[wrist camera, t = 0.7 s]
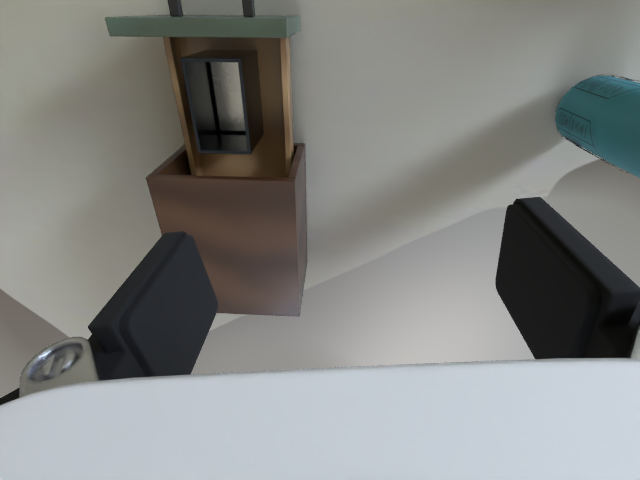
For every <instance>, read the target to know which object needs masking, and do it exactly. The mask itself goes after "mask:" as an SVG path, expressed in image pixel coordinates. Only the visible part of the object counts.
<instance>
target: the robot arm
mask: <svg viewBox="0 0 640 480" xmlns="http://www.w3.org/2000/svg"><path fill="white" fill-rule="evenodd" d="M496 289H497V291H498V294H499V295H500V297H501V299H502V301H503V303H504V304H505V306H506V308H507V310H508V311H509V313H510V315H511V317H512V318H513V320H514V322H515V324H516V326H517V327H518V329H519V331H520V333H521V334H522V336H523V338H524V340H525V341H526V343H527V345H528V347H529V348H530V350H531V352H532V354H533V356H534V357H535V359H533V360H502V361H501V360H500V361H476V362H452V363H451V362H450V363H429V364H428V363H426V364H401V365H379V366H357V367H335V368H314V369H313V368H312V369H292V370H270V371H251V372H231V373H213V374H193V375H190V374H191V372H192V369H193V367H194V365H195V362H196V360H197V357H198V355H199V353H200V351H201V348H202V346H203V344H204V341H205V339H206V336H207V334H208V332H209V329H210V327H211V325H212V322H213V320H214V318H215V315H216V313H217V310H218V301H217V298H216V295H215V292H214V290H213V287H212V285H211V282H210V279H209V277H208V274H207V272H206V269H205V266H204V264H203V261H202V259H201V256H200V253H199V251H198V248H197V246H196V243H195V240H194V238H193V237H192V236H191V235H188V234H187V233H186V232H184V231H180V232H169V233H165V234H163V236H162V237H161V238H160V239H159V240H158V242H157V243H156V244H155V245H154V246H153V248H152V249H151V250H150V251H149V253H148V254H147V255H146V256H145V257H144V259H143V260H142V261H141V262H140V264H139V265H138V266H137V267H136V268H135V270H134V271H133V272H132V273H131V275H130V276H129V277H128V278H127V279H126V281H125V282H124V283H123V284H122V286H121V287H120V288H119V289H118V290H117V292H116V293H115V294H114V295H113V297H112V298H111V299H110V300H109V301H108V303H107V304H106V305H105V306H104V308H103V309H102V310H101V311H100V312H99V314H98V315H97V316H96V317H95V319H94V320H93V321H92V322H91V323H90V325H89V326H88V328H89V330H90V331H91V333H92V335H91V337H90V338H89V339H88V340H87V339H85V338H83V337H71V338H66V339H63V340H61V341H58V342H56V343H53V344H52V345H50V346H48V347H46V348H45V349H43V350H42V351H40V352H39V353H38V354H36V355H35V356H34V357H33V358H32V359H31V360H30V361H29V362H28V363H27V365H26V366H25V367H24V369H23V371H22V372H21V376H20V388H18V389H16V390H15V391H13V392H11V393H9V394H7V395H5V396H4V397H2V398H0V480H640V288H639V287H638V286H637V285H636V284H635V283H634V282H633V281H632V280H631V279H630V278H629V277H627V276H626V275H625V274H624V273H623V272H622V271H621V270H620V269H619V268H618V267H617V266H615V265H614V264H613V263H612V262H611V261H610V260H609V259H607V257H605V256H604V255H603V254H602V253H601V252H600V251H599V250H598V249H597V248H596V247H595V246H593V245H592V244H591V243H590V242H589V241H588V240H587V239H586V238H585V237H584V236H582V235H581V234H580V233H579V232H578V231H577V230H576V229H575V228H574V227H572V225H570V224H569V223H568V222H567V221H566V220H565V219H564V218H563V217H562V216H561V215H560V214H558V213H557V212H556V211H555V210H554V209H553V208H552V207H550V205H549V204H547V203H546V202H545V201H544V200H543V199H542V198H540V197H533V198H523V199H516V200H515V201H514V203H513V205H509V206H508V207H507V211H506V217H505V223H504V230H503V237H502V242H501V248H500V255H499V261H498V268H497V274H496Z"/></svg>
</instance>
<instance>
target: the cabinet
mask: <svg viewBox="0 0 640 480" xmlns="http://www.w3.org/2000/svg"><path fill="white" fill-rule="evenodd" d="M293 144H294V159H293V162H292V165H291V168H290V171H289V174H288V177H287V178H274V177H236V176H198V175H191V170H190V165H189V160H188V156H187V151H186V146H185V144H184V145H183V146H182V147H181V148H180V149H179V150H177V151H176V152H175V153H174V154H173V155H172V156H170V157H169V158H168V159H167V160H166V161H165V162H164V163H162V164H161V165H160V166H159V167H158V168H157V169H155V170H154V171H153V172H152V173H151V174H149V175H148V176H147V177H146V180H147V183H148V187H149V191H150V194H151V198H152V201H153V205H154V208H155V212H156V215H157V219H158V222H159V226H160V229H161V233H162V236H163V234H165V233H169V232H180V231H184V232H186V233H187V234H188V235H191V236H192V237H193V238H194V240H195V243H196V246H197V248H198V251H199V253H200V256H201V259H202V261H203V264H204V266H205V269H206V272H207V274H208V277H209V279H210V282H211V285H212V287H213V290H214V292H215V295H216V298H217V301H218V310H217V313H229V314H253V315H277V316H300V310H301V303H302V296H303V289H304V282H305V274H306V267H307V217H306V162H305V144H297V143H293Z"/></svg>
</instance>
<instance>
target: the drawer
mask: <svg viewBox="0 0 640 480" xmlns="http://www.w3.org/2000/svg"><path fill="white" fill-rule="evenodd" d="M242 3H243V14H244V16H226V15H183V12H182V6H181V0H168V4H169V9H170V15H151V16H125V17H106V18H105V20H106V23H107V27H108V31H109V34H110V36H129V37H163V40H164V44H165V49H166V54H167V59H168V64H169V69H170V73H171V78H172V83H173V88H174V93H175V98H176V102H177V107H178V112H179V117H180V122H181V127H182V131H183V136H184V141H185V146H186V151H187V156H188V160H189V165H190V170H191V175H198V176H236V177H274V178H287V177H288V174H289V171H290V168H291V165H292V162H293V159H294V144H293V116H292V89H291V61H290V36H291V35H293V34H295V33H297V32H299V31H300V16H255V9H254V0H242ZM204 50H257V55H258V67H259V79H260V91H261V104H262V116H263V128H264V134H263V136H262V138H261V139H260V141H259V142H258V144H257V146H256V147H255V149H254V150H253V152H252V154H210V153H198V149H197V144H196V139H195V133H194V128H193V123H192V117H191V112H190V107H189V101H188V96H187V91H186V86H185V80H184V75H183V70H182V64H181V59H180V58H181V57H184V56H188V55H191V54H194V53H198V52H201V51H204Z"/></svg>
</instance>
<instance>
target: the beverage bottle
mask: <svg viewBox="0 0 640 480" xmlns="http://www.w3.org/2000/svg"><path fill="white" fill-rule="evenodd" d="M602 75H603V74H602ZM614 76H615V75H614ZM614 76H612V77H610V76H598V75H597V76H596V77H594V76H593V77H592V78H588V79H586V80H583V81H581V82H580V83H578V84H576V85H575V86H574V87H572V88H571V89H570V90H569V91H568V92H567V93H566V94H565V95H564V97H563V98H562V99H561V101H560V103H559V105H558V107H557V110H556V115H555V121H556V127H557V128H558V129H557V130H559V132H560V133H561V135H563V136H564V137H565V138H566V139H567V140H569V141H571V142H572V143H575V144H576V146H578V147H580V148H581V147H583V148H585V149H587V150H588V151H589V153H590V152H592V153H590V154H592V155H593V153H594V154H596V155H597V156H599V157H601V158H602V159H603V160H604V159H605V160H606V161H608V162H610V163H611V164H613V165H616V166H617V167H620V168H622V169H624V170H626V171H628V172H629V173H631V174H633V175H635V176H637V177H639V178H640V83H637V82H632V81H636V80H631V81H629V78H628V79H627V78H625V79H626V80H624V78H623V79H619V78H620V76H619V78H615V77H614ZM621 78H622V77H621ZM637 81H638V80H637ZM561 137H562V136H561ZM565 138H564V139H565ZM566 139H565V140H566ZM575 144H574V145H575ZM583 148H582V149H583ZM585 149H583V150H585ZM587 150H585V151H587ZM588 151H587V152H588Z"/></svg>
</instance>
